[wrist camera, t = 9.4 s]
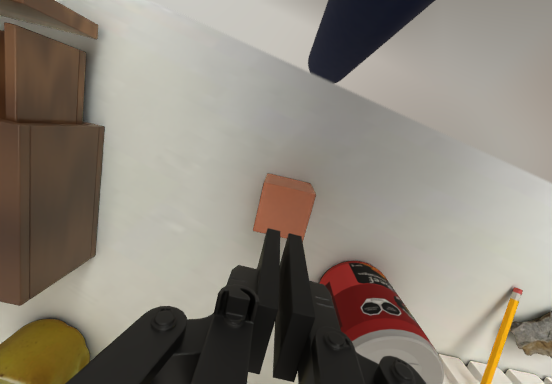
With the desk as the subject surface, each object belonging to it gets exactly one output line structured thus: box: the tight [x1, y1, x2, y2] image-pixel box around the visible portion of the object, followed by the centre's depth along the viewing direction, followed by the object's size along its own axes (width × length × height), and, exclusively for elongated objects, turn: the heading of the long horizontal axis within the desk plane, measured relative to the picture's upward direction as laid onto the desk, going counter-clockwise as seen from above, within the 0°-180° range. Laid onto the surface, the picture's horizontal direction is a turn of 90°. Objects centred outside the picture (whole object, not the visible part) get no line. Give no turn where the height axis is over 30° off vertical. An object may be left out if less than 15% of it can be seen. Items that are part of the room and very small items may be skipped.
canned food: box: [320, 261, 444, 384], centre depth 24 cm, size 8×8×11 cm
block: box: [253, 173, 316, 242], centre depth 25 cm, size 5×5×5 cm
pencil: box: [480, 288, 523, 384], centre depth 27 cm, size 1×13×1 cm, turn 149°
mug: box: [0, 319, 90, 384], centre depth 29 cm, size 12×10×10 cm
